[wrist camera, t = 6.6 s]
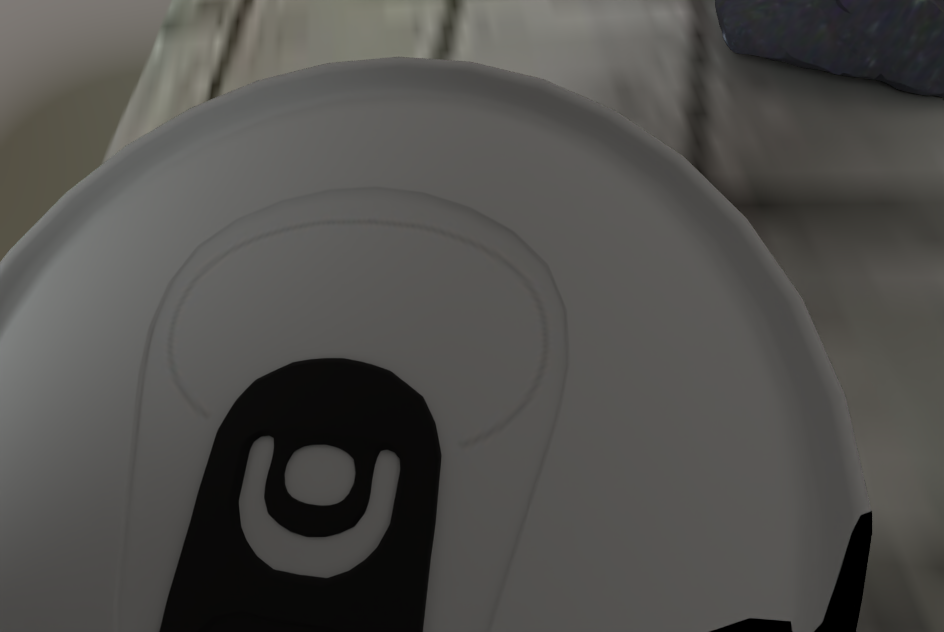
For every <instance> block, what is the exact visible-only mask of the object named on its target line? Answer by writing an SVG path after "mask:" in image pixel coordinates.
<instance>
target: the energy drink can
mask: <svg viewBox="0 0 944 632" xmlns="http://www.w3.org/2000/svg"><path fill="white" fill-rule="evenodd" d="M871 536H872V511H871V507H870V502H869V498H868V493H867V489H866V485H865V480H864V476H863V471H862V467H861V462H860V458H859V453H858V449H857V445H856V440H855V436H854V431H853V427H852V422H851V418H850V413H849V409H848V405H847V400H846V396H845V394H844V392H843V390H842V387H841V385H840V383H839V381H838V378H837V376H836V374H835V371H834V369H833V367H832V365H831V362H830V360H829V358H828V356H827V353H826V351H825V349H824V346H823V344H822V342H821V340H820V337H819V335H818V333H817V330H816V328H815V326H814V324H813V321H812V319H811V317H810V315H809V312H808V310H807V308H806V305H805V303H804V301H803V299H802V297H801V296H800V294H799V293H798V291H797V290H796V289H795V287H794V286H793V284H792V283H791V281H790V280H789V279H788V277H787V276H786V274H785V273H784V271H783V270H782V268H781V267H780V266H779V264H778V263H777V261H776V260H775V258H774V257H773V256H772V254H771V253H770V251H769V250H768V248H767V247H766V245H765V244H764V243H763V241H762V240H761V238H760V237H759V235H758V234H757V233H756V231H755V230H754V228H753V227H752V225H751V224H750V222H749V221H748V220H747V218H746V217H745V216H744V215H743V214H742V213H741V212H740V211H739V210H738V209H737V208H736V207H734V206H733V205H732V204H731V203H730V202H729V201H728V200H727V199H726V198H725V197H724V196H723V195H722V194H721V193H720V192H719V191H718V190H717V189H716V188H715V187H714V186H713V185H712V184H711V183H710V182H709V181H708V180H707V179H706V178H705V177H704V176H703V175H702V174H701V173H700V172H699V171H698V170H697V169H696V168H695V167H694V166H693V165H692V164H691V163H690V162H689V161H688V160H687V159H686V158H685V157H684V156H682V155H681V154H679V153H678V152H676V151H675V150H673V149H672V148H670V147H669V146H667V145H666V144H664V143H663V142H661V141H660V140H658V139H657V138H655V137H654V136H652V135H651V134H649V133H648V132H646V131H645V130H643V129H642V128H640V127H639V126H637V125H636V124H634V123H633V122H631V121H630V120H628V119H627V118H625V117H624V116H622V115H621V114H619V113H618V112H616V111H615V110H613V109H611V108H608V107H606V106H604V105H601V104H599V103H597V102H594V101H592V100H590V99H588V98H585V97H583V96H581V95H578V94H576V93H574V92H572V91H569V90H567V89H565V88H562V87H560V86H558V85H555V84H553V83H551V82H549V81H546V80H544V79H540V78H536V77H532V76H528V75H524V74H520V73H515V72H511V71H507V70H503V69H499V68H495V67H490V66H486V65H482V64H478V63H474V62H466V61H452V60H438V59H423V58H409V57H391V58H380V59H369V60H358V61H347V62H336V63H327V64H322V65H318V66H314V67H310V68H306V69H302V70H298V71H294V72H290V73H286V74H282V75H278V76H274V77H270V78H266V79H262V80H258V81H255V82H253V83H250V84H248V85H246V86H243V87H241V88H238V89H236V90H233V91H231V92H228V93H226V94H224V95H221V96H219V97H216V98H214V99H211V100H209V101H207V102H204V103H202V104H199V105H197V106H194V107H192V108H190V109H188V110H186V111H185V112H183V113H181V114H179V115H178V116H176V117H174V118H173V119H171V120H169V121H167V122H166V123H164V124H162V125H161V126H159V127H157V128H155V129H154V130H152V131H150V132H149V133H147V134H145V135H143V136H142V137H140V138H138V139H137V140H135V141H133V142H131V143H130V144H128V145H126V146H125V147H124V148H122V149H121V150H120V151H119V152H117V153H116V154H115V155H114V156H112V157H111V158H110V159H108V160H107V161H106V162H105V163H103V164H102V165H101V166H99V167H98V168H97V169H96V170H94V171H93V172H92V173H91V174H89V175H88V176H87V177H85V178H84V179H83V180H82V181H80V182H79V183H78V184H77V185H75V186H74V187H73V188H72V189H70V190H69V191H68V192H66V193H65V194H64V195H63V196H62V197H61V198H60V199H59V200H58V201H57V202H56V203H55V204H54V205H53V206H52V207H51V209H50V210H49V211H48V212H47V213H46V214H45V215H44V216H43V217H42V218H41V219H40V220H39V221H38V222H37V223H36V224H35V225H34V226H33V227H32V228H31V229H30V230H29V231H28V232H27V233H26V234H25V235H24V236H23V237H22V238H21V239H20V240H19V241H18V242H17V243H16V244H15V245H14V246H13V247H12V248H11V250H10V251H9V252H8V253H7V254H6V256H5V257H4V258H3V260H2V261H1V263H0V632H856V628H857V623H858V618H859V612H860V607H861V602H862V596H863V589H864V583H865V576H866V569H867V563H868V556H869V549H870V543H871Z"/></svg>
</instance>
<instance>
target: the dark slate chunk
mask: <svg viewBox="0 0 944 632" xmlns="http://www.w3.org/2000/svg"><path fill="white" fill-rule="evenodd" d="M715 7H716V12H717V16H718V20H719V25H720V27H721V30H722V34H723V38H724V41H725V42H726V44H727V46H728V47H729V48H730V49H731V50H732V51H733V52H735V53H738V54H750V55H755V56H761V57H765V58H768V59H771V60H776V61H783V62H786V63H788V64H791V65H795V66H798V67H802V68H807V69H818V70H823V71H826V72H829V73H832V74H836V75H844V76H849V77H857V78H866V79H876V80H880V81H883V82H885V83H887V84H889V85H891V86H892V87H894V88H896V89H899V90H902V91H906V92H911V93H915V94H920V95H936V96H939V97H944V0H715Z"/></svg>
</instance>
